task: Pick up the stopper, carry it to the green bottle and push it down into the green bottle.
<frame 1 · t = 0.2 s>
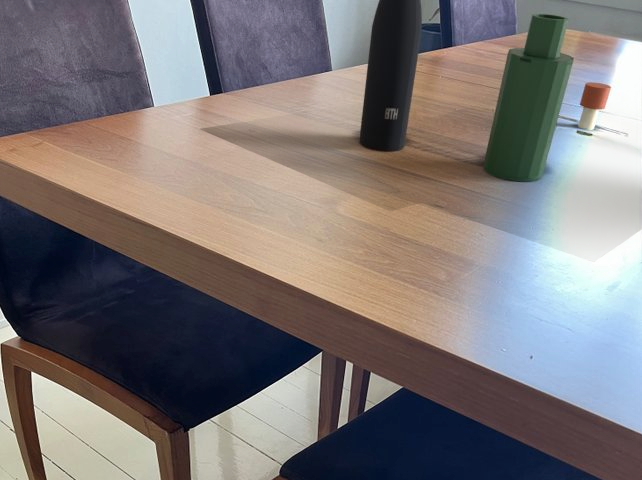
green bottle: (512, 171, 97), on the table
stopper: (584, 133, 116), on the table
black tall cylinder: (381, 146, 103), on the table
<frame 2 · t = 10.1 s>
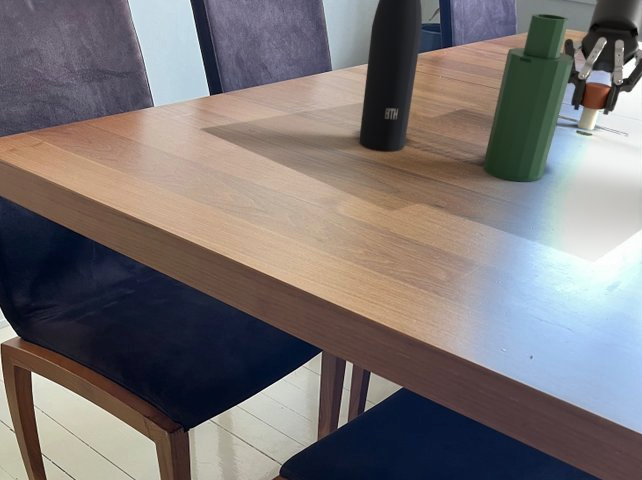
hand: (591, 108, 112), 4 cm above the table, tool tilted 45°, fingers closed on stopper, 3 cm apart
stopper: (583, 133, 116), on the table, touching gripper
everything else where it was.
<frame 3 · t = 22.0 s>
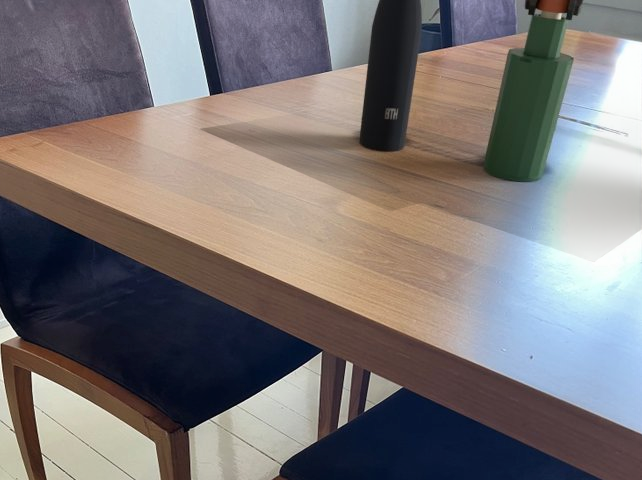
hand: (550, 11, 84), 19 cm above the table, tool tilted 45°, fingers closed on stopper, 3 cm apart
stopper: (542, 48, 88), point 15 cm above the table, touching gripper
everything else where it was.
when the fingers open (19 cm above the table, at t = 23.3 s): stopper stays where it is, resting on green bottle.
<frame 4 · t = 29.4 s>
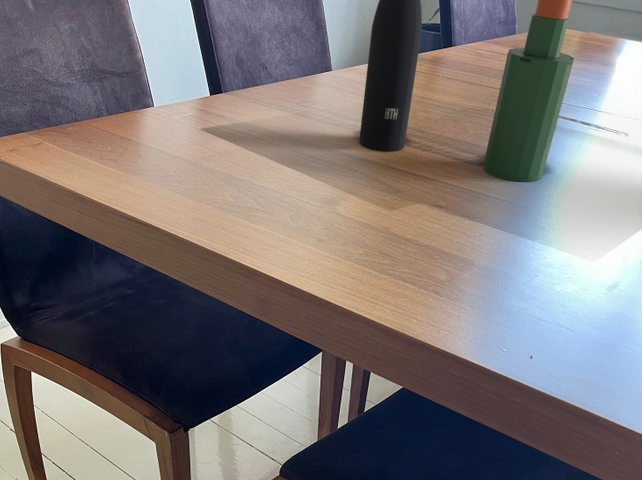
stopper: (541, 54, 89), point 14 cm above the table, touching green bottle
everything else where it was.
at the end: stopper 0.1 cm off-centre in the green bottle, point 14.0 cm above the green bottle's base; stopper tilted 0°; the gripper is holding nothing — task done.
